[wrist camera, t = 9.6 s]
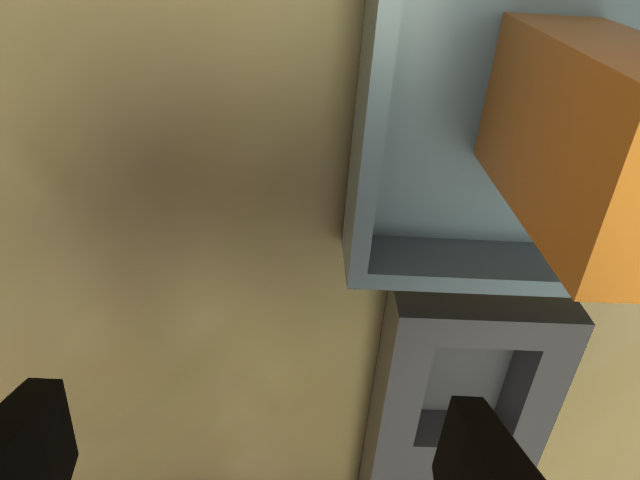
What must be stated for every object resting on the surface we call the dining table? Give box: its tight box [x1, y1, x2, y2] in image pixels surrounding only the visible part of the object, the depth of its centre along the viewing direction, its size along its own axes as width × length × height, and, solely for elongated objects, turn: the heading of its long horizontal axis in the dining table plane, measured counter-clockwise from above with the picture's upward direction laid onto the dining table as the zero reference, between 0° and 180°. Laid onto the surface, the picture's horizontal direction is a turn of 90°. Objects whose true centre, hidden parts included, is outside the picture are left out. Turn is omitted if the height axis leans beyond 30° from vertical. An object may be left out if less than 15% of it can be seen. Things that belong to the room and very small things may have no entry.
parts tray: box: [342, 0, 640, 298], centre depth 15 cm, size 11×16×3 cm
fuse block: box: [358, 290, 595, 480], centre depth 25 cm, size 7×16×2 cm, turn 176°
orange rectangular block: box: [474, 12, 640, 304], centre depth 14 cm, size 3×4×8 cm
